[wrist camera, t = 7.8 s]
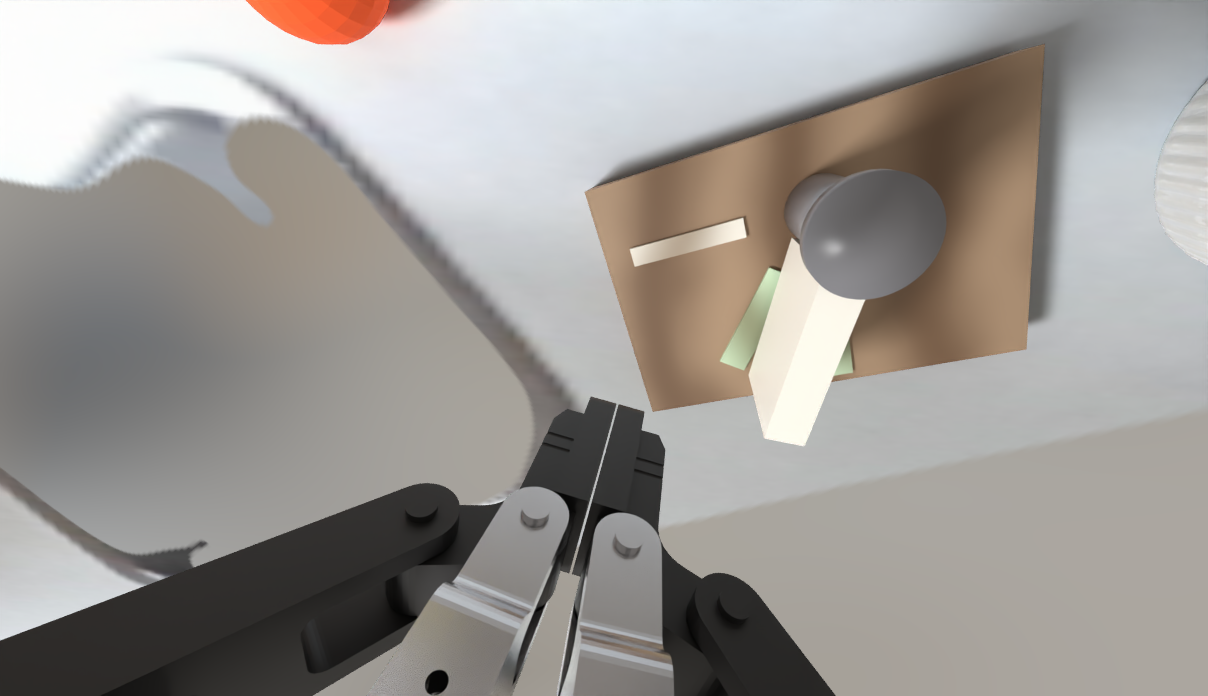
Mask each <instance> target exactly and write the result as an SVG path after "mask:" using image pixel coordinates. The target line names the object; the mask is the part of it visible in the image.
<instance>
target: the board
mask: <svg viewBox="0 0 1208 696" xmlns="http://www.w3.org/2000/svg"><path fill="white" fill-rule="evenodd" d="M1044 49H1045V44H1042V45H1038V46H1034V47H1031V48H1027V49H1023V50H1019V51H1015V52H1011V53H1008V54H1005V55H1002V56H999V57H996V58H993V59H989V60H986V61H983V62H980V63H977V64H974V65H971V66H968V67H965V68H962V69H958V70H955V71H952V72H949V73H946V74H943V75H940V76H937V77H934V78H931V79H928V80H924V81H921V82H918V83H915V84H912V85H909V86H906V87H903V88H900V89H897V90H894V91H890V92H887V93H884V94H881V95H878V96H875V97H872V98H869V99H866V100H863V101H860V102H856V103H853V104H850V105H847V106H844V107H841V108H838V109H835V110H832V111H829V112H825V113H822V114H819V115H816V116H813V117H810V118H807V119H804V120H801V121H798V122H795V123H791V124H788V125H785V126H782V127H779V128H776V129H773V130H770V131H767V132H764V133H761V134H757V135H754V136H751V137H748V138H745V139H742V140H739V141H736V142H733V143H730V144H726V145H723V146H720V147H717V148H714V149H711V150H708V151H705V152H702V153H699V154H696V155H692V156H689V157H686V158H683V159H680V160H677V161H674V162H671V163H668V164H665V165H662V166H658V167H655V168H652V169H649V170H646V171H643V172H640V173H637V174H634V175H631V176H627V177H624V178H621V179H618V180H615V181H612V182H609V183H606V184H603V185H600V186H597V187H593V188H591V189H589V190H588V191H586V192H585V195H586V198H587V201H588V204H589V208H590V211H591V214H592V217H593V220H594V224H595V227H596V230H597V233H598V237H599V240H600V243H601V246H602V249H603V253H604V256H605V259H606V262H607V266H608V269H609V272H610V275H611V278H612V282H613V285H614V288H615V291H616V295H617V298H618V301H619V304H620V307H621V311H622V314H623V317H624V320H625V324H626V327H627V330H628V333H629V336H630V340H631V343H632V346H633V349H634V353H635V356H636V359H637V362H638V365H639V369H640V372H641V375H642V378H643V382H644V385H645V388H646V391H647V394H648V398H649V401H650V404H651V407H652V411H653V412H654V411H660V410H666V409H672V408H678V407H684V406H690V405H696V404H702V403H708V402H714V401H720V400H726V399H732V398H738V397H744V396H750V395H753V391H752V387H751V383H750V379H749V372H750V369H751V366H752V362H753V359H754V356H755V353H756V350H757V346H758V343H759V340H760V337H761V334H762V331H763V327H764V324H765V321H766V318H767V315H768V311H769V308H770V305H771V302H772V299H773V296H774V292H775V289H776V286H777V283H778V280H779V276H780V273H781V270H782V267H783V264H784V261H785V257H786V254H787V251H788V248H789V245H790V241H791V238H792V237H793V238H797V237H796V236H795V235H794V234H793V233H792V232H791V231H790V230H789V229H788V227H787V225H786V222H785V218H784V208H785V203H786V201H787V198H788V196H789V194H790V193H791V191H792V190H793V189H794V188H795V186H797V185H798V184H799V183H800V182H801V181H803V180H804V179H806V178H808V177H810V176H812V175H815V174H820V173H831V174H836V175H839V176H843V177H847V176H849V175H851V174H854V173H857V172H860V171H865V170H870V169H891V170H896V171H902V172H906V173H910V174H913V175H915V176H918V177H920V178H921V179H923V180H925V181H926V182H927V183H929V184H930V185H931V186H932V187H933V188H934V189H935V190H936V192H937V193H938V195H939V196H940V198H941V200H942V202H943V205H944V208H945V213H946V232H945V236H944V240H943V243H942V246H941V248H940V250H939V252H938V254H937V256H936V258H935V259H934V260H933V262H932V263H931V265H930V266H929V267H928V268H927V269H926V270H925V272H924V273H923V274H922V275H920V276H919V277H918V278H917V279H916V280H915V281H913V282H912V283H910V284H909V285H907V286H906V287H904V288H902V289H901V290H899V291H896V292H894V293H892V294H889V295H886V296H883V297H879V298H874V299H866V300H865V301H864V304H863V306H862V309H861V311H860V313H859V316H858V318H857V321H856V323H855V325H854V328H853V330H852V333H851V335H850V337H849V340H848V342H847V345H846V347H845V350H844V352H843V354H842V357H841V359H840V362H839V364H838V366H837V369H836V371H835V374H834V376H833V378H832V381H831V382H834V381H840V380H846V379H852V378H858V377H864V376H870V375H876V374H882V373H888V372H894V371H900V370H905V369H911V368H917V367H923V366H929V365H935V364H941V363H947V362H953V361H959V360H965V359H971V358H977V357H983V356H989V355H995V354H1001V353H1007V352H1013V351H1019V350H1025V349H1026V347H1027V330H1028V314H1029V297H1030V281H1031V264H1032V248H1033V231H1034V214H1035V198H1036V181H1037V165H1038V148H1039V132H1040V115H1041V98H1042V82H1043V65H1044Z"/></svg>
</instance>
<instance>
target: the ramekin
mask: <svg viewBox="0 0 1208 696" xmlns="http://www.w3.org/2000/svg"><path fill="white" fill-rule="evenodd" d="M1154 198H1155V207H1156V212H1157V213H1158V216H1159V221H1160V224H1161V225H1162V226H1163V228H1164V230H1165V233H1166V235H1167V236H1168V237H1170V238H1171V239H1172V241H1173V242H1174V244H1176V245H1177V246H1178V247H1179V248H1181V249H1183V250H1184V252H1185V253H1186V254H1187V255H1189V256H1190V257H1192V258H1194V259H1196V260H1198V261H1200V262H1202V263H1204V264H1205V265H1207V266H1208V80H1207V81H1206V83H1205V84H1204V85H1203V86H1202V87H1201V88H1200V89H1199V90H1198V92H1197V93H1196V94H1195V95H1194V96H1193V98H1192V99H1191V100H1190V101H1189V103H1188V104H1187V105H1186V107H1185V108H1184V110H1183V111H1182V112H1181V114H1180V115H1179V117H1178V119H1177V120H1176V122H1175V123H1174V125H1173V127H1172V129H1171V130H1170V132H1169V134H1168V136H1167V139H1166V141H1165V143H1164V145H1163V148H1162V151H1161V153H1160V156H1159V160H1158V164H1157V168H1156V175H1155V190H1154Z"/></svg>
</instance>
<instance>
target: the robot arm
mask: <svg viewBox="0 0 1208 696" xmlns="http://www.w3.org/2000/svg"><path fill="white" fill-rule="evenodd" d="M615 407H616V404H615V403H612V402H608V401H605V400H601V399H598V398H594V397H591V398H590V400H589V403H588V405H587V408H586V410H585V413H584V414H583V413H579V412H576V411H572V410H569V409H567V410H565V411H564V412H562V413H561V414H559V415H558V416H557V417H555V418H554V420H553V422H552V424H551V426H550V428H549V430H548V433H547V434H546V436H545V438H544V440H543V443H542V445H541V447H540V449H539V451H538V453H537V455H536V457H535V459H534V461H533V463H532V465H531V467H530V469H529V471H528V473H527V476H526V478H525V480H524V482H523V484H522V486H521V487H520V489H519V490H516V491H515V492H513V493H511V494H510V495H509V496H508V497H507V498H506V499H505V501H503V502H500V503H497V504H492V505H459V501H458V499H457V497H456V495H455V494H454V493H453V492H452V491H451V490H449V489H448V488H446V487H444V486H441V485H437V484H430V483H424V484H417V485H412V486H409V487H406V488H404V489H401V490H398V491H396V492H393V493H391V494H388V495H385V496H382V497H380V498H377V499H374V500H372V501H369V502H366V503H364V504H361V505H358V506H356V507H353V508H351V509H348V510H345V511H343V512H340V513H337V514H335V515H332V516H329V517H327V518H324V519H322V520H319V521H316V522H313V523H311V524H308V525H305V526H303V527H300V528H298V529H295V530H292V531H290V532H287V533H284V534H282V535H279V536H276V537H274V538H271V539H268V540H266V541H264V542H261V543H258V544H255V545H253V546H250V547H247V548H245V549H242V550H239V551H237V552H234V553H232V554H229V555H226V556H224V557H221V558H218V559H215V560H213V561H210V562H208V563H205V564H202V565H200V566H197V567H194V568H192V569H189V570H186V571H184V572H181V573H178V574H176V575H173V576H170V577H168V578H165V579H162V580H160V581H157V582H154V583H152V584H149V585H147V586H144V587H141V588H139V589H136V590H133V591H131V592H128V593H125V594H123V595H120V596H117V597H115V598H112V599H109V600H107V601H104V602H101V603H99V604H96V605H94V606H91V607H88V608H86V609H83V610H80V611H78V612H75V613H72V614H70V615H67V616H64V617H62V618H59V619H56V620H54V621H51V622H49V623H46V624H43V625H41V626H38V627H35V628H33V629H30V630H27V631H25V632H22V633H19V634H17V635H14V636H11V637H9V638H6V639H3V640H1V641H0V696H313V695H314V694H316V693H318V692H319V691H321V690H323V689H324V688H326V687H328V686H329V685H331V684H333V683H334V682H336V681H338V680H340V679H341V678H343V677H345V676H346V675H348V674H350V673H351V672H353V671H355V670H356V669H358V668H359V667H361V666H363V665H364V664H366V663H368V662H370V661H372V660H373V659H375V658H376V657H378V656H380V655H382V654H383V653H385V652H387V651H388V650H390V649H392V648H393V647H395V646H397V645H398V644H400V643H401V644H400V646H399V647H398V649H397V650H396V652H395V653H394V655H393V656H392V658H391V660H390V661H389V663H388V664H387V666H386V667H385V669H384V670H383V672H382V673H381V675H380V676H379V678H378V679H377V681H376V682H375V684H374V686H373V687H372V689H371V690H370V692H369V693H368V695H367V696H512V695H513V692H514V689H515V687H516V684H517V681H518V679H519V677H520V674H521V671H522V669H523V666H524V664H525V661H526V659H527V656H528V654H529V651H530V649H531V646H532V643H533V641H534V638H535V636H536V633H537V631H538V628H539V626H540V623H541V621H542V618H543V616H544V613H545V610H546V608H547V605H548V602H549V599H550V598H551V596H552V595H553V592H554V590H555V587H556V584H557V580H558V577H559V574H560V571H563V572H567V573H569V572H570V568H571V565H572V561H573V558H574V554H575V551H576V547H577V544H578V540H579V537H580V533H581V530H582V526H583V522H584V519H585V515H586V512H587V508H588V505H589V501H590V498H591V494H592V491H593V487H594V484H595V480H596V476H597V473H598V469H599V466H600V462H601V459H602V455H603V451H604V448H605V444H606V440H607V437H608V433H609V429H610V426H611V422H612V418H613V415H614V411H615ZM643 418H644V411H640V410H637V409H633V408H630V407H626V406H623V405H618V409H617V413H616V416H615V420H614V424H613V427H612V431H611V434H610V438H609V442H608V445H607V449H606V453H605V456H604V460H603V463H602V467H601V471H600V474H599V478H598V482H597V485H596V489H595V493H594V496H593V500H592V503H591V507H590V511H589V514H588V518H587V522H586V525H585V529H584V532H583V536H582V540H581V543H580V547H579V551H578V554H577V558H576V562H575V565H574V569H573V572H572V574H574V575H577V576H580V581H579V585H578V589H577V593H576V597H575V600H574V603H573V607H572V610H571V615H570V620H569V626H568V632H567V637H566V643H565V649H564V655H563V660H562V665H561V671H560V677H559V682H558V688H557V694H556V696H835V694H834V693H833V692H832V690H831V689H830V688H829V686H828V685H827V684H826V683H825V681H824V680H823V679H822V677H821V676H820V675H819V673H818V672H817V671H816V670H815V668H814V667H813V666H812V664H811V663H810V662H809V660H808V659H807V658H806V657H805V656H804V654H803V653H802V651H801V650H800V649H799V647H798V646H797V645H796V644H795V642H794V641H793V640H792V638H791V637H790V636H789V635H788V633H787V632H786V631H785V629H784V628H783V627H782V625H781V624H780V623H779V621H778V620H777V619H776V617H775V616H774V615H773V614H772V612H771V611H770V610H769V608H768V607H767V606H766V604H765V603H764V602H763V601H762V599H761V598H760V597H759V595H758V594H757V593H756V592H755V591H754V590H753V589H752V588H751V587H750V586H749V585H748V584H746V583H745V582H744V581H742V580H740V579H739V578H737V577H734V576H732V575H729V574H725V573H713V574H710V575H707V576H706V577H704V578H703V579H701V578H700V577H698V576H697V575H695V574H693V573H692V572H690V571H689V570H687V569H685V568H684V567H683V566H681V565H680V564H678V563H677V562H676V561H675V560H674V559H672V557H671V556H670V555H669V554H668V553H667V551H666V550H665V548H664V547H663V545H662V543H661V540H660V537H659V532H658V523H659V512H660V501H661V491H662V478H663V469H664V468H663V466H664V458H665V448H664V446H663V444H662V442H661V439H660V437H659V435H656V434H653V433H649V432H646V431H642V430H641V429H642V423H643Z"/></svg>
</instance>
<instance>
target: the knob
mask: <svg viewBox="0 0 1208 696" xmlns="http://www.w3.org/2000/svg"><path fill="white" fill-rule="evenodd" d="M784 218H785V222H786V225H787V227H788V229H789V230H790V231H791V232H792V233H793V234H794V235H795V236H796V237H797V238H793V237H792V238H791V241H790V245H789V248H788V251H787V254H786V257H785V261H784V264H783V267H782V270H781V273H780V276H779V280H778V283H777V286H776V289H775V292H774V296H773V299H772V302H771V305H770V308H769V311H768V315H767V318H766V321H765V324H764V327H763V331H762V334H761V337H760V340H759V343H758V346H757V350H756V353H755V356H754V359H753V362H752V366H751V369H750V372H749V379H750V383H751V387H752V391H753V395H754V399H755V403H756V407H757V411H758V415H759V419H760V423H761V427H762V431H763V435H764V438H765V439H770V440H775V441H780V442H785V443H790V444H795V445H800V446H805V443H806V441H807V439H808V436H809V434H810V431H811V429H812V427H813V424H814V422H815V419H816V417H817V415H818V412H819V410H820V407H821V405H822V403H823V400H824V398H825V395H826V393H827V390H828V388H829V386H830V383H831V381H832V378H833V376H834V374H835V371H836V369H837V366H838V364H839V362H840V359H841V357H842V354H843V352H844V350H845V347H846V345H847V342H848V340H849V337H850V335H851V333H852V330H853V328H854V325H855V323H856V321H857V318H858V316H859V313H860V311H861V309H862V306H863V304H864V301H865V300H866V299H874V298H879V297H883V296H886V295H889V294H892V293H894V292H896V291H899V290H901V289H902V288H904V287H906V286H907V285H909V284H910V283H912V282H913V281H915V280H916V279H917V278H918V277H919V276H920V275H922V274H923V273H924V272H925V270H926V269H927V268H928V267H929V266H930V265H931V263H932V262H933V260H934V259H935V258H936V256H937V254H938V252H939V250H940V248H941V246H942V243H943V240H944V236H945V232H946V213H945V208H944V205H943V202H942V200H941V198H940V196H939V195H938V193H937V192H936V190H935V189H934V188H933V187H932V186H931V185H930V184H929V183H927V182H926V181H925V180H923V179H921V178H920V177H918V176H915V175H913V174H910V173H906V172H902V171H896V170H891V169H870V170H865V171H860V172H857V173H854V174H851V175H849V176H847V177H843V176H839V175H836V174H831V173H820V174H815V175H812V176H810V177H808V178H806V179H804V180H803V181H801V182H800V183H799V184H798V185H797V186H795V188H794V189H793V190H792V191H791V193H790V194H789V196H788V198H787V201H786V203H785V208H784Z"/></svg>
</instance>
